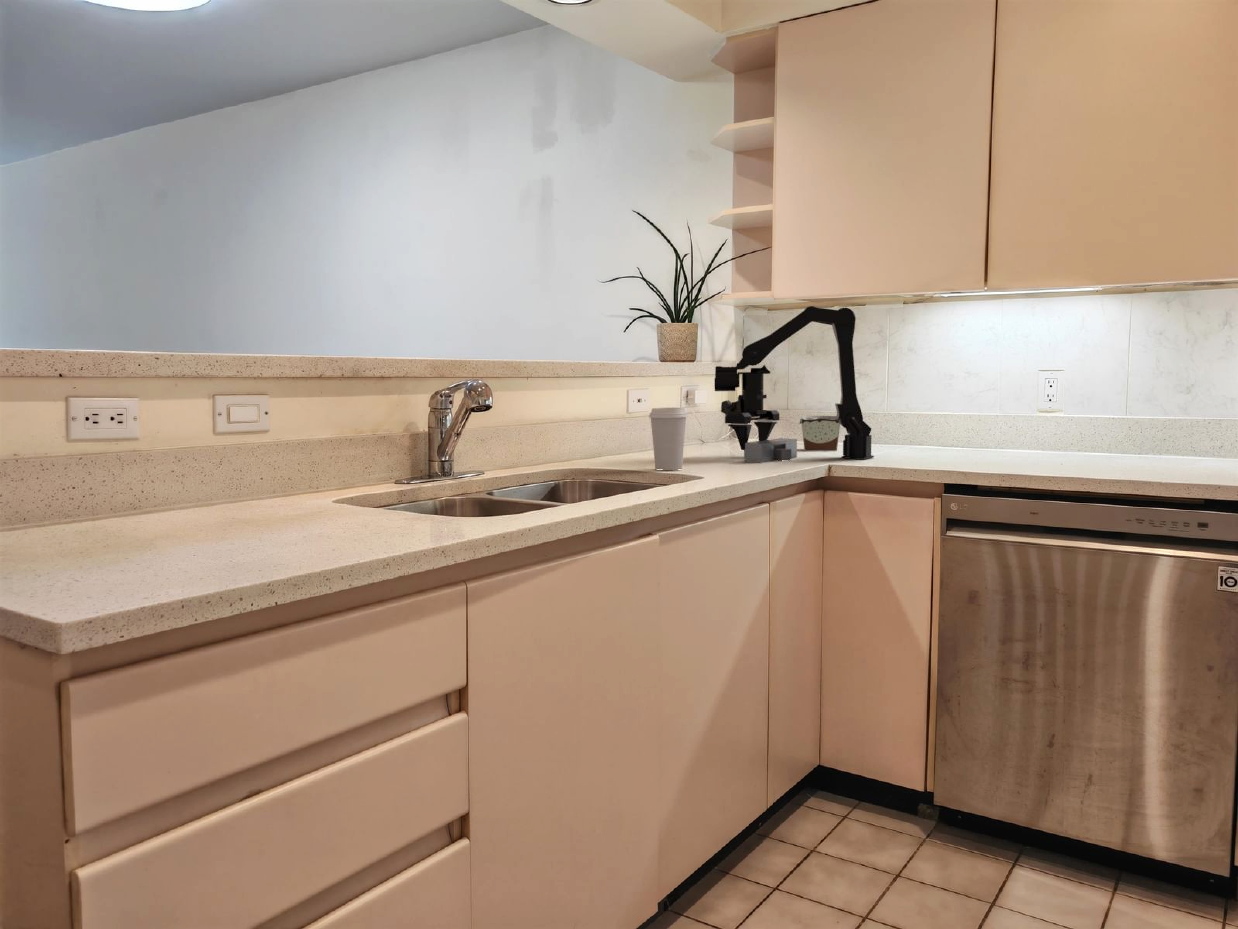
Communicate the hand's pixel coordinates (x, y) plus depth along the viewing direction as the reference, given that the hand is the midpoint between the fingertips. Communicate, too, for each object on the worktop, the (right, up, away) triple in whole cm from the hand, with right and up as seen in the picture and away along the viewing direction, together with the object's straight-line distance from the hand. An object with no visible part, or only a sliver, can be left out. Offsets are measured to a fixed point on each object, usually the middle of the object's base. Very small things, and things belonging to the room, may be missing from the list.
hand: (752, 448), depth 246 cm
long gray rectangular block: (+5, -3, -4) cm, 6 cm away
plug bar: (+4, -3, -2) cm, 5 cm away
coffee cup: (-24, -6, -24) cm, 34 cm away
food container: (+23, 0, +21) cm, 31 cm away
